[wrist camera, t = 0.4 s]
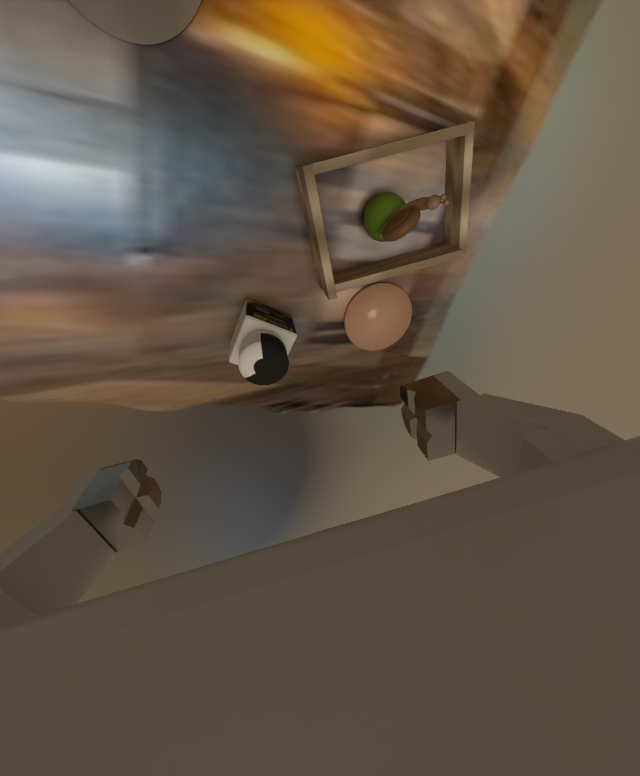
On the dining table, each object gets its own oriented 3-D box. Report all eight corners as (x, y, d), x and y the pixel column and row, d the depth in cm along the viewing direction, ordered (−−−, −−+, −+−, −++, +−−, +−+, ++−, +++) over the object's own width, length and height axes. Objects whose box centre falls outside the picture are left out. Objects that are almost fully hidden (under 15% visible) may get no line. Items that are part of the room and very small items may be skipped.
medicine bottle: (292, 315, 46) (303, 352, 37) (274, 354, 49) (280, 398, 40) (246, 297, 44) (245, 331, 34) (230, 339, 47) (225, 382, 37)
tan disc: (338, 293, 46) (339, 294, 45) (408, 273, 46) (410, 275, 45) (349, 355, 52) (350, 358, 51) (411, 338, 52) (413, 340, 52)
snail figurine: (410, 210, 41) (460, 220, 31) (373, 246, 43) (410, 267, 33) (388, 174, 38) (435, 172, 29) (349, 214, 40) (381, 226, 30)
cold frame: (294, 168, 36) (302, 166, 31) (455, 125, 37) (492, 116, 31) (319, 284, 44) (329, 300, 39) (450, 248, 45) (479, 258, 39)
